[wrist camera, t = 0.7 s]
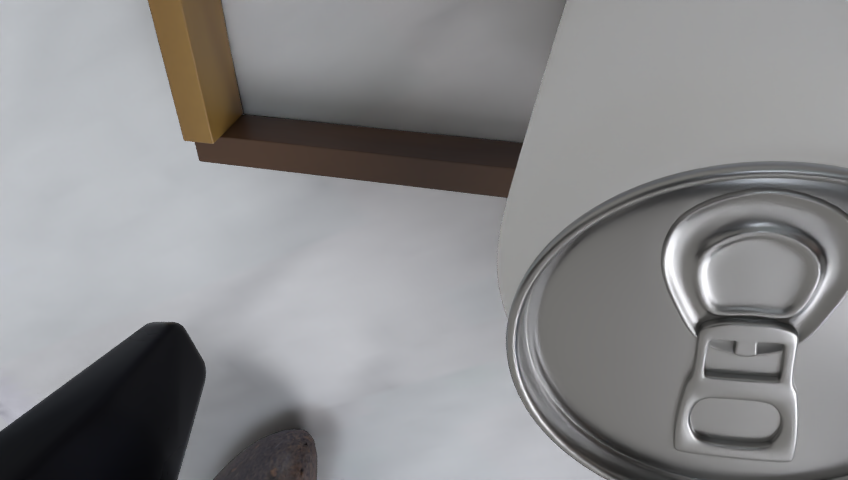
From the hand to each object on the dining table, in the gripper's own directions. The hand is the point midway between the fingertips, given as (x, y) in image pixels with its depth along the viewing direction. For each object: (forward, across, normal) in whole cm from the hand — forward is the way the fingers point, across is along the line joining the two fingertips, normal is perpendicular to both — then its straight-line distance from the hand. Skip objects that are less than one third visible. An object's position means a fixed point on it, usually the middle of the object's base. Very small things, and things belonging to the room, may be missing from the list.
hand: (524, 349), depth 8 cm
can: (+12, -3, +2) cm, 13 cm away
